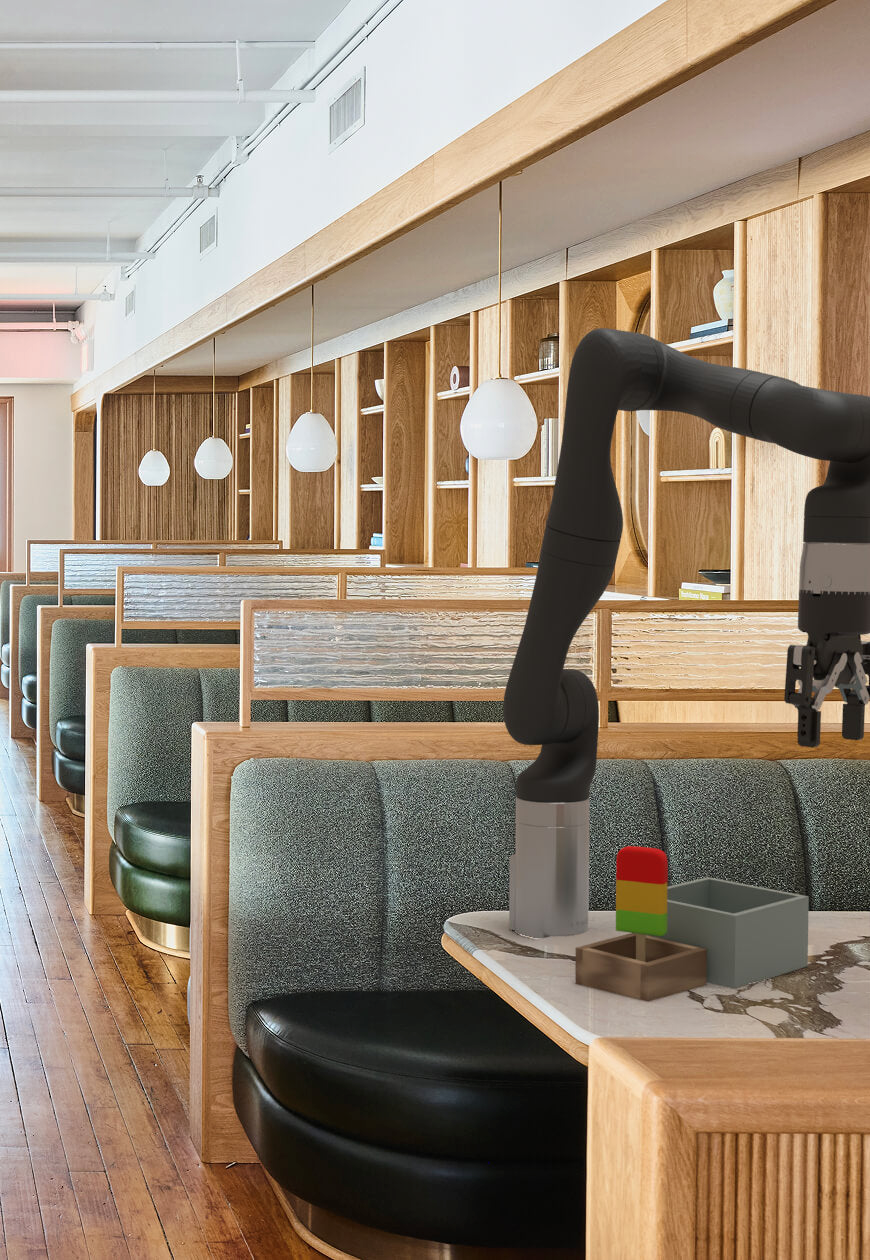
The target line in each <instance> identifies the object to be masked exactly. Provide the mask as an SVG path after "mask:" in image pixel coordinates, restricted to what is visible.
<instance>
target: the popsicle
mask: <svg viewBox="0 0 870 1260" xmlns="http://www.w3.org/2000/svg"><path fill="white" fill-rule="evenodd" d="M615 863H616V864H615V865H616V868H615V869H616V870H615V871H616V872H615V875H616V876H615V884H616V885H615V931H616V932H623V933H629V934H630V933H636V960H639V961H643V962H645V946H646V935H653V936H663V935H665V934H666V933H667V887H668V883H669V882H668V880H669V878H668V876H669V875H668V874H669V873H668V872H669V871H668V870H669V869H668V868H669V867H668V865H669V863H668V857H667V854H666V853H665V851H663V850H661V849H660V848H655V847H646V846H638V845H637V846H635V845H628V846H624V847H622V848H621V849H619V851H618V852H617V854H616V861H615Z"/></svg>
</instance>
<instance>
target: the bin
mask: <svg viewBox="0 0 870 1260" xmlns="http://www.w3.org/2000/svg"><path fill="white" fill-rule="evenodd" d="M809 897H810V896H808V895H803V894H798V893H793V892H787V891H783V890H777V889H772V888H766V887H760V886H756V885H750V884H745V883H740V882H734V881H730V880H724V879H719V878H714V877H702V878H698V879H694V880H690V881H689V880H688V881H685V882H681V883H677V884H673V885H667V933H666V934H665V935H663V936H653V935H648V936H652V937H657V938H661V939H665V940H669V941H674V942H678V943H682V944H686V945H691V946H695V947H699V948H703V949H707V966H706V984H707V983H708V984H711V985H712V984H713V985H716V986H717V985H718V986H721V987H727V988H731V989H734V990H736V989H738V987H739V988H741V986H742V987H744V986H743V985H746V984H749V983H752V984H754V983H753V982H756V983H758V982H757V981H759V982H761V981H760V980H763V981H765V980H764V979H766V980H768V979H767V978H770V979H772V978H771V977H773V978H775V976H776V977H778V976H782V975H784V974H787V973H791V972H795V971H797V970H800V969H802V968H803V969H804V968H807V967H808V961H809V960H808V959H809V957H808V956H809V955H808V954H809V908H810V907H809V904H810V901H809V900H810V899H809ZM749 985H750V984H749ZM746 986H747V985H746Z"/></svg>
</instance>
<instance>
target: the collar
mask: <svg viewBox="0 0 870 1260" xmlns="http://www.w3.org/2000/svg"><path fill="white" fill-rule="evenodd" d="M706 966H707V949H703V948H699V947H695V946H691V945H686V944H682V943H678V942H674V941H669V940H665V939H661V938H657V937H652V936H648V935H646V946H645V962H643V961H639V960H636V933H630V932H629V933H627V934H623V935H620V936H619V935H618V936H615V937H612V938H607V939H603V940H600V941H596V942H591V943H588V944H585V945H580V946H577V947H575V967H574V969H575V977H574V979H575V981H574V982H575V985H579V986H582V987H583V986H584V987H587V988H591V989H594V990H595V989H596V990H599V991H603V992H604V991H605V992H608V993H612V994H615V995H619V996H624V997H628V998H632V999H636V1000H641V1001H644V1002H648V1003H649V1002H651V1001H654V1000H658V999H659V1000H660V999H662V998H667V997H669V996H672V995H676V994H680V993H683V992H686V991H690V990H694V989H696V988H701V987H705V986H707V982H706Z"/></svg>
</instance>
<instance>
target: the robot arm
mask: <svg viewBox="0 0 870 1260" xmlns="http://www.w3.org/2000/svg"><path fill="white" fill-rule="evenodd" d="M564 409H565V410H564V417H563V418H564V419H563V429H562V438H561V443H560V445H561V446H560V452H559V458H558V464H557V468H556V469H557V470H556V474H555V475H556V476H555V481H554V487H553V493H552V497H551V502H550V506H549V511H548V514H547V518H546V521H545V522H546V523H545V527H544V532H543V537H542V542H541V546H540V554H539V559H538V563H537V564H538V565H537V571H536V575H535V579H534V585H533V587H532V588H533V589H532V594H531V598H530V601H529V602H530V603H529V605H528V611H527V615H526V619H525V624H524V627H523V629H522V635H521V638H520V640H519V644H518V647H517V650H516V653H515V656H514V659H513V663H512V666H511V668H510V672H509V677H508V679H507V682H506V687H505V691H504V696H503V705H502V714H503V721H504V725H505V728H506V730H507V732H508V734H509V736H510V737H511V739H513V740H514V741H515V742H516V743H519V744H521V745H523V746H524V745H525V746H541V748H540V752H539V754H538V755H537V757H536V759H535V760H534V761H533V762H532V763H531V764H530V765H529V766H528V767H526V768H525V769H524V770H522V771H521V772H520V773H519V774H518V775H517V777H516V781H515V854H511V856H510V857H509V886H508V888H509V892H508V893H509V897H508V898H509V899H508V901H509V903H508V905H509V906H508V907H509V909H508V912H509V913H508V914H509V915H508V917H509V919H508V920H509V922H508V929H509V928H510V929H514V930H515V931H516V932H517V933H519V934H522V935H525V936H529V937H533V938H541V939H545V938H549V937H569V936H575V935H580V934H584V933H585V932H587V931H588V930H589V910H590V909H589V903H590V795H591V793H590V792H591V791H590V790H591V784H592V782H593V780H594V778H595V773H596V770H597V759H598V758H597V757H598V744H599V743H598V742H599V726H600V725H599V724H600V723H599V722H600V709H599V700H598V699H599V698H598V694H597V691H596V688H595V686H594V684H593V682H592V680H591V679H590V677H589V676H588V675H587V674H585V673H584V672H583V671H580V670H577V669H573V668H564V667H565V663H566V659H567V656H568V653H569V650H570V646H571V645H572V642H573V639H574V637H575V636H576V633H577V632H578V630H579V629H580V628H581V626H582V624H583V623H584V621H585V620H586V618H587V617H588V616H589V614H590V613H591V612H592V610H593V608H594V607H596V605H597V603H598V602H599V601H600V599H601V597H602V596H603V595H604V593H605V591H606V589H607V587H608V586H609V585H610V582H611V580H612V577H613V574H614V571H615V568H616V565H617V559H618V553H619V549H620V544H621V539H622V536H623V527H624V516H623V515H624V514H623V510H622V509H623V508H622V505H621V501H620V500H621V499H620V496H619V492H618V488H617V485H616V481H615V477H614V473H613V468H612V462H611V451H612V441H613V440H612V439H613V434H614V429H615V424H616V421H617V420H616V419H617V415H618V411H623V412H638V411H659V412H662V411H664V412H667V411H668V412H675V413H676V412H677V413H682V414H688V415H690V416H691V415H692V416H695V417H697V418H699V419H702V420H704V421H706V422H707V423H709V424H711V425H712V426H715V427H718V428H720V429H722V430H725V431H726V432H730V433H733V434H735V435H736V434H737V435H738V436H739V435H740V436H742V437H747V438H749V439H754V440H757V441H761V442H764V443H769V444H775V445H777V446H779V447H781V448H784V449H786V450H788V451H790V452H793V453H795V454H798V455H801V456H804V457H806V458H811V459H815V460H820V461H826V462H827V461H828V462H829V464H828V469H827V473H826V477H825V480H824V483H823V484H822V485H819V486H816V487H814V488H812V489H810V491H808V492H807V494H806V497H805V501H804V510H803V511H804V512H803V530H802V531H803V535H802V538H803V539H802V542H803V544H802V550H801V557H800V562H799V580H798V607H797V609H798V612H797V613H798V614H797V628H798V630H799V631H800V632H801V633H806V634H807V641H806V645H802V644H796V645H795V644H790V645H789V646H788V648H787V650H786V651H787V654H786V668H785V669H786V670H785V680H784V681H785V682H784V702H785V704H790V705H792V706H794V708H795V709H797V734H796V735H797V744H798V745H799V746H800V747H806V748H817V747H819V746H820V745H821V727H822V726H821V725H822V724H821V723H822V711H821V710H820V709H821V707H822V705H823V703H824V700H825V697H826V696H827V695H828V694H831V693H832V692H833V691H834V690H833V689H834V688H837V689H838V690H839V692H840V695H841V697H842V699H843V702H844V703H842V717H841V736H842V738H843V739H845V740H851V741H862V740H863V739H864V737H865V735H864V734H865V713H866V712H865V711H866V709H865V708H866V705H868V704H869V703H870V641H867V640H862V635H863V636H864V635H869V634H870V395H863V394H856V393H850V392H849V393H848V392H841V391H834V390H829V389H822V388H817V387H810V386H805V385H801V384H800V383H798V382H796V381H795V380H791V379H788V378H785V377H782V376H778V375H773V374H769V373H766V372H765V373H764V372H761V371H756V370H752V369H747V368H741V367H736V366H735V367H734V366H727V365H721V364H715V363H711V362H708V361H704V360H702V359H698V358H696V357H693V356H692V355H691V356H690V355H688V354H686V353H684V352H682V351H680V350H678V349H676V348H673V347H671V346H669V345H667V344H665V343H663V342H662V341H659V340H657V339H655V338H654V337H651V336H650V335H648V334H644V333H640V332H634V331H628V330H627V331H626V330H621V329H614V328H607V327H606V328H604V327H603V328H602V327H601V328H599V327H598V328H595V329H592V330H591V331H589V332H588V333H586V334H585V335H584V336H583V337H582V338H581V340H580V341H579V343H578V345H577V347H576V348H575V351H574V354H573V356H572V359H571V363H570V368H569V373H568V381H567V391H566V400H565V408H564ZM866 675H867V676H868V678H867V676H866ZM796 682H797V683H796ZM867 683H868V685H866V684H867ZM796 684H798V685H799V688H798V691H797V692H796V687H797V686H796ZM813 693H814V694H813ZM515 931H514V932H515ZM541 939H540V940H541Z"/></svg>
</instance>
